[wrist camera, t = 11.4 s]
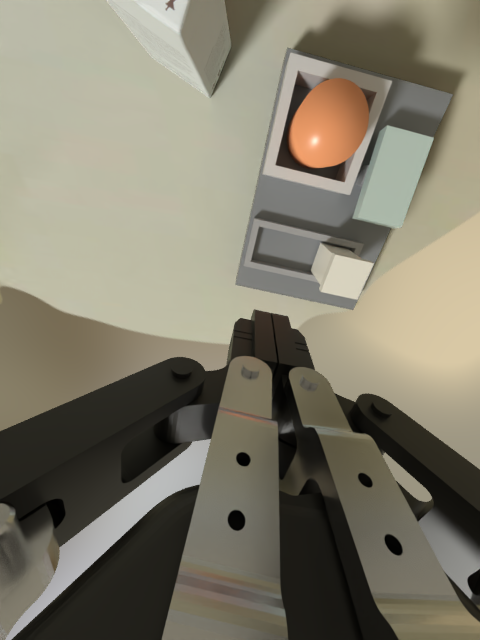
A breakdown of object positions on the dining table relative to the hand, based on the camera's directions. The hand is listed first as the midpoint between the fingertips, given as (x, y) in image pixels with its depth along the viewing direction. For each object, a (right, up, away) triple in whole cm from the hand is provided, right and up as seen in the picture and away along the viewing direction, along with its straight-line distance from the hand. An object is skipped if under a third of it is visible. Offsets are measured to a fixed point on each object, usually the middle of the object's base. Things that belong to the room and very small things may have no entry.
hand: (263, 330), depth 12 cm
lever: (+8, +7, +16) cm, 19 cm away
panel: (+7, +13, +16) cm, 22 cm away
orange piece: (+5, +16, +11) cm, 21 cm away
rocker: (+12, +12, +11) cm, 20 cm away
